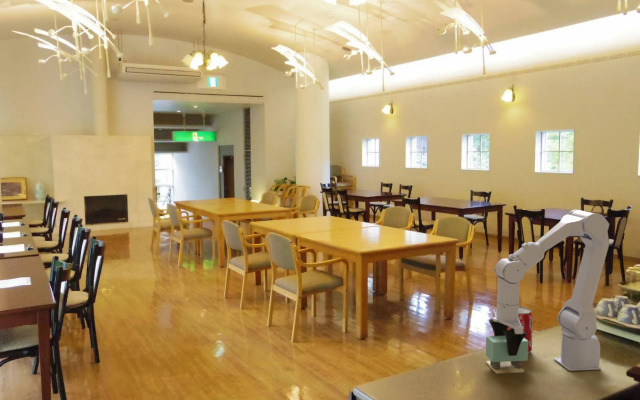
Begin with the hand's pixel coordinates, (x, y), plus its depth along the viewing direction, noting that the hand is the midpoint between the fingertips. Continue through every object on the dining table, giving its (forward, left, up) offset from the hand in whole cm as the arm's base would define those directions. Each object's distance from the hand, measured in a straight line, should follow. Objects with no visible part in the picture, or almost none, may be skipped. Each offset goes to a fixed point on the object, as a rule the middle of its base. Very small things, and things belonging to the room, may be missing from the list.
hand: (506, 349), depth 144 cm
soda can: (-10, -11, -6) cm, 16 cm away
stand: (0, 0, -5) cm, 5 cm away
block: (0, 0, -2) cm, 2 cm away
